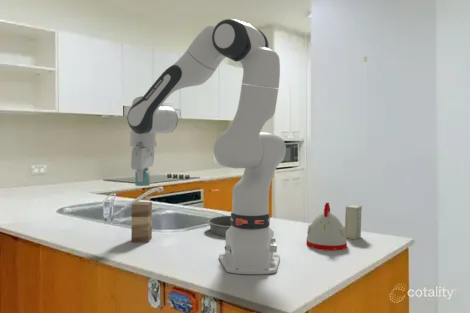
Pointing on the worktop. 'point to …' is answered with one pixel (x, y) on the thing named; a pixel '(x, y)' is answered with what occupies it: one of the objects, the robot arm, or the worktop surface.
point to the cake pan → (220, 225)
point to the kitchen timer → (326, 232)
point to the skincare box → (353, 221)
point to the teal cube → (145, 180)
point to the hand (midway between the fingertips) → (142, 180)
